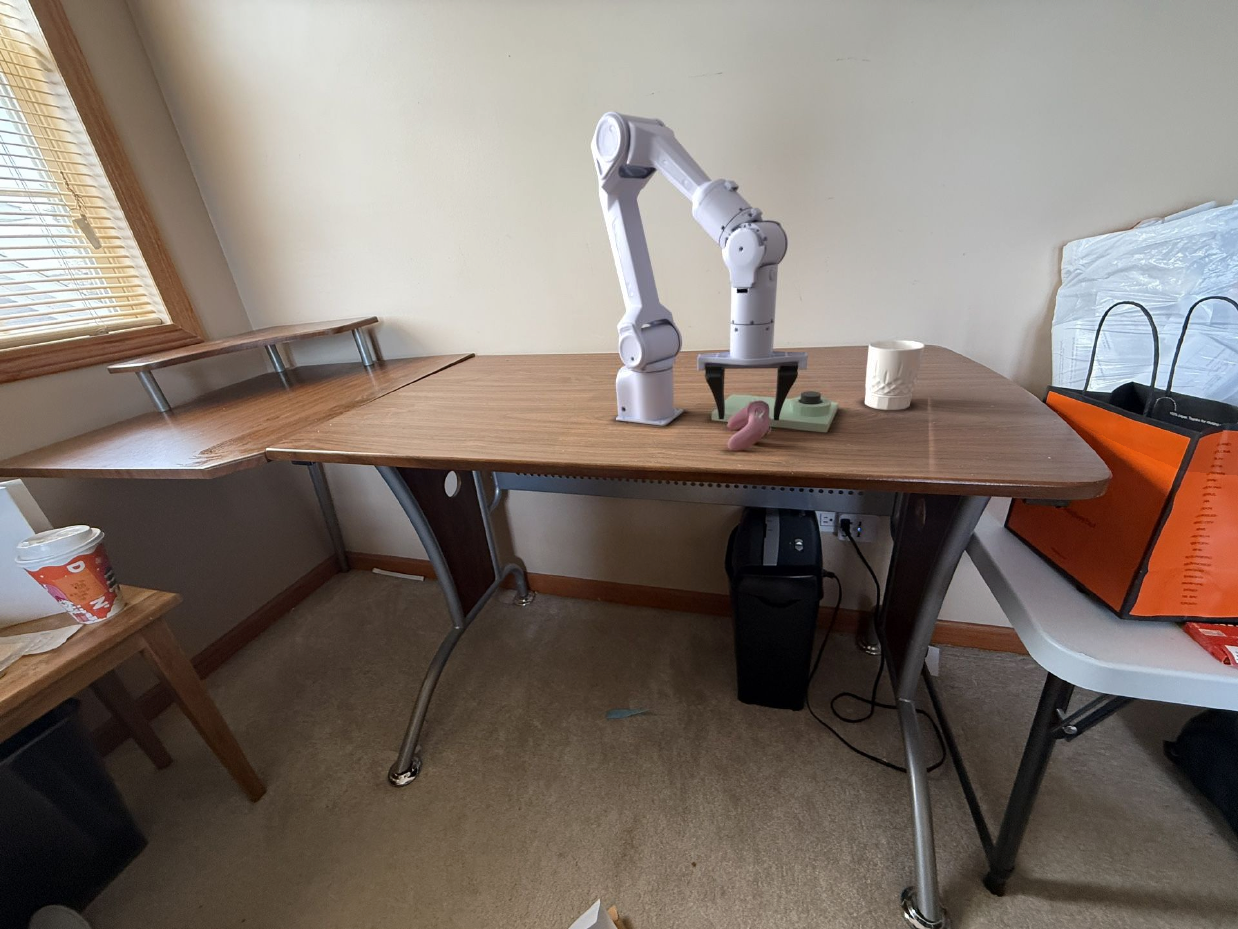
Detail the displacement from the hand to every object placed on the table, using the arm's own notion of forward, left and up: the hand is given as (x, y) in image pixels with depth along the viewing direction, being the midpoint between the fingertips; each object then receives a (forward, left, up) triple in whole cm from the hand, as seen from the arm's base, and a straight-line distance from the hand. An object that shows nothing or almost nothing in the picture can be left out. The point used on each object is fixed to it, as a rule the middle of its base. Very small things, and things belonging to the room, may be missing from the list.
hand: (748, 417), depth 70 cm
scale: (+1, +12, -3) cm, 13 cm away
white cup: (+17, +23, -4) cm, 29 cm away
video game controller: (0, 0, -4) cm, 4 cm away
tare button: (+6, +12, -1) cm, 14 cm away
